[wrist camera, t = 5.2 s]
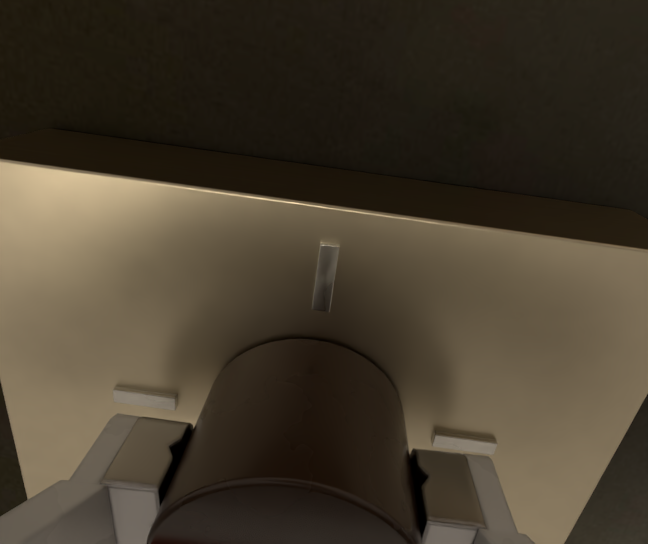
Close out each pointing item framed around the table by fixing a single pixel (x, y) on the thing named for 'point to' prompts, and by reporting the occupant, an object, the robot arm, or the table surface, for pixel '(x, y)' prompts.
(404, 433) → the dial knob
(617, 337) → the dial panel
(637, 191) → the table surface
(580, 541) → the table surface
